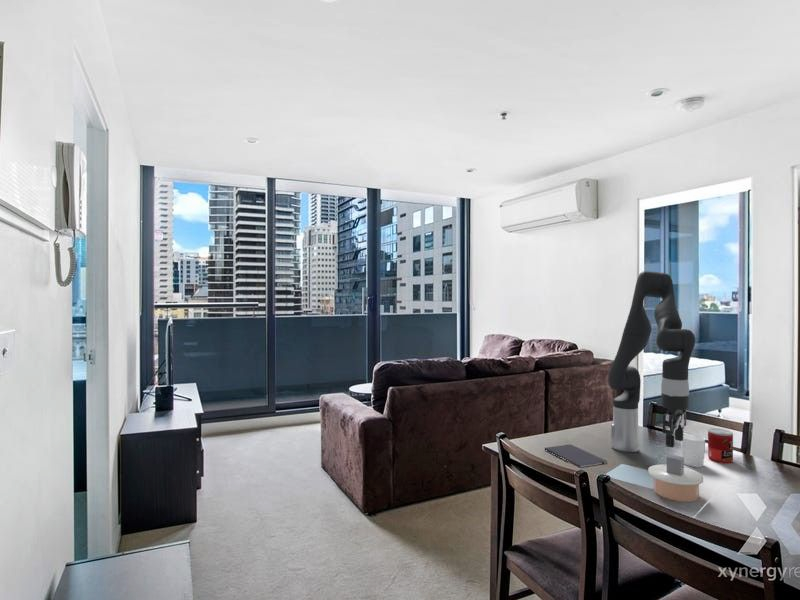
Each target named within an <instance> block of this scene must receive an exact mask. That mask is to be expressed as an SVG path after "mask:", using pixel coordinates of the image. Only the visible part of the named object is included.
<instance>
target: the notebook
mask: <svg viewBox="0 0 800 600" xmlns="http://www.w3.org/2000/svg"><path fill="white" fill-rule="evenodd" d="M545 450H547V451H549V452H551V453H553V454H555V455H557V456H559V457H562V458H564V459H566V460H568V461H570V462H572V463H573V464H572V463H571V464H572V465H574V464H575V466H576V467H578V468H583V467H584V468H585V467H592V466H598V465H605V464H607V463H608V461H607V460H606V459H604V458H601V457H599V456H597V455H595V454H593V453H590V452H589V451H586V450H584V449H582V448H579V447H578V446H576V445H573V444H563V445H556V446H548V447H544V451H545ZM547 451H546V452H547ZM549 452H548V453H549ZM551 453H550V454H551ZM553 454H552V455H553ZM555 455H554V456H555ZM557 456H556V457H557ZM559 457H558V458H559ZM570 462H569V463H570Z"/></svg>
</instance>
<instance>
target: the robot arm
mask: <svg viewBox="0 0 800 600" xmlns="http://www.w3.org/2000/svg"><path fill="white" fill-rule="evenodd" d="M674 289H675V287H674V283H673V279H672V276H671V275H670V274H668V273H665V272H659V271H658V272H657V271H651V270H650V271H647V270H642V271H641V272H640V273H639V274H638V277H637V279H636V283H635V287H634V291H633V295H632V301H631V306H630V308H629V313H628V316H627V318H626V319H627V320H626V323H625V325H624V327H623V332H622V334H621V335H622V336H621V339H620V342H619V346H618V349H617V352H616V355H615V358H614V360H613V362H612V364H611V367H610V370H609V373H608V376H607V381H608V385H609V387H610V389H612V390H614V391H623V392H622V393H621V394H620V395H618V396H616V397H615V398H614V399H612V424H611V425H610V445H611V447H610V448H611V449H614V450H616V451H620V452H624V453H636V452H638V451H639V403H640V401H641V383H642V382H641V381H642V380H641V374H640V372H639V370H638V369H637V368H636V367H634V366H630V364H631V362H632V361H633V360H634V359H635V358H636V357H637V356H638V355H639V354H641V352H642V351H643V350H645V348H646V347H647V345H648V344H649V340H650V336H651V334H652V324H651V322H650V320H649V317H648V315H647V313H646V310H645V305H644V304H645V303H644V302H645V298H646V297H648V298H657V299H659V298H660V299H661V301H660V302H658V304H657V305H656V307H655V309H654V313H653V314H654V320H655V322H656V326H657V332H656V341H655V342H656V346H657V348H658V349H659V350H661V351H663V352H673V353H675V352H679V354H678V355H677V356H674V357H671V358H670V357H669V358H665V359H664V360H663V361H662V374H661V376H662V377H661V385H660V386H661V387H660V388H661V389H660V391H661V393H660V395H661V396H660V397H661V399H660V400H661V401H660V402H661V403H660V405H661V407H663V408H665V409H667V412H666V413H663V414H662V434H665V446H666V447H668V448H675V441H679V442H681V441H683V434H684V430H685V427H686V426H687V410H688V409H689V408H690V385H689V365H690V360H691V357H692V353H693V351H694V349H695V345H696V336H695V334H694V332H693V331H692V330H690V329H683V328H682V327H683V322H682V320H681V317H680V313H679V311H678V310H677V305H676V297H675V295H676V294H675V290H674Z"/></svg>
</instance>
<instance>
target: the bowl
mask: <svg viewBox="0 0 800 600" xmlns="http://www.w3.org/2000/svg"><path fill="white" fill-rule="evenodd" d="M653 488H654V489H653V490H654V492H655V494H657V495H659V496H661V498H662V497H663V498H664V499H669V500H671V501H677V502H694V501H697V500H698V499H699V496H700V484H698V485H678V484H672V483H668V482H664V481H661V480H658V479H656V478H654V477H653Z"/></svg>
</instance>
